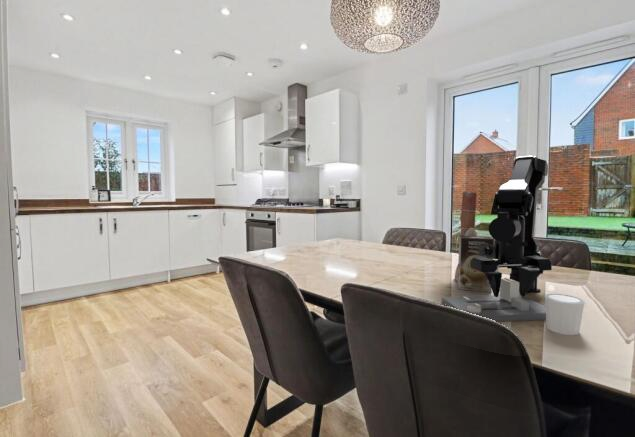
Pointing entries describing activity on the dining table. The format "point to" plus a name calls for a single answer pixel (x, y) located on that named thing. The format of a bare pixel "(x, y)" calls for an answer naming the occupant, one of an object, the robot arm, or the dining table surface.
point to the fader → (509, 289)
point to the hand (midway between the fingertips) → (509, 296)
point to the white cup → (563, 313)
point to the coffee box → (466, 274)
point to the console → (498, 307)
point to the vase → (467, 217)
